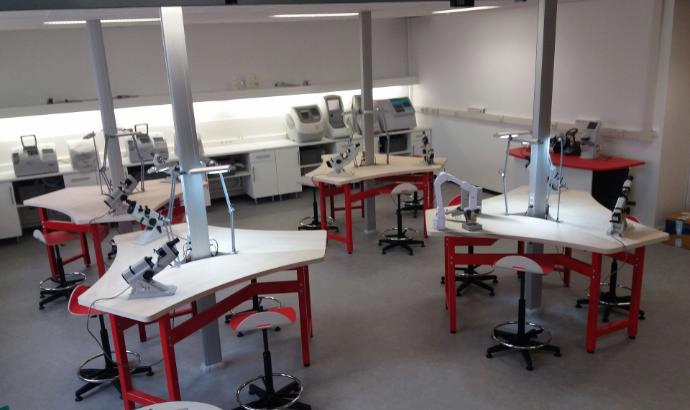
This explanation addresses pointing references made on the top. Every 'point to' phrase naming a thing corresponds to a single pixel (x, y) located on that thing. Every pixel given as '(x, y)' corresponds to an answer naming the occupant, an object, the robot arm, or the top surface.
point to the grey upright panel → (465, 199)
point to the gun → (456, 212)
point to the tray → (471, 226)
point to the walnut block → (473, 218)
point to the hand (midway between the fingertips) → (472, 218)
